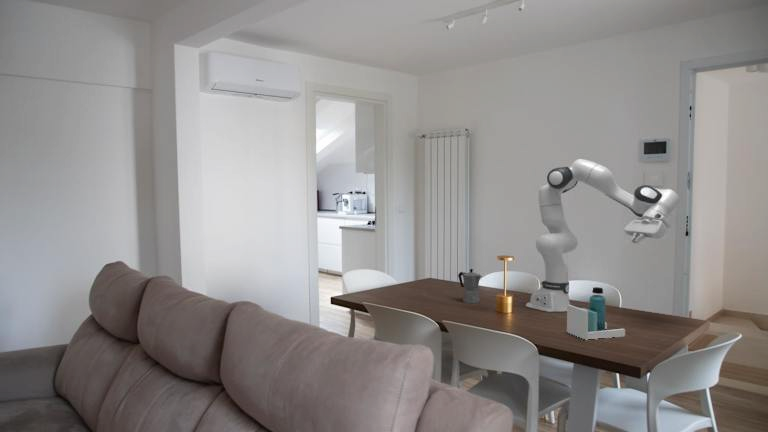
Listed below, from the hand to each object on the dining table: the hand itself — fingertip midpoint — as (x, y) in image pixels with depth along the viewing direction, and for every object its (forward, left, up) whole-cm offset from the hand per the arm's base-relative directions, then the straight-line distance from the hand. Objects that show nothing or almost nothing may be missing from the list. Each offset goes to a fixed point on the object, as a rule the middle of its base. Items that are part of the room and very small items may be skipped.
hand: (634, 242), depth 235 cm
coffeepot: (-83, -8, -38) cm, 91 cm away
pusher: (-8, -29, -37) cm, 48 cm away
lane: (-6, -25, -37) cm, 46 cm away
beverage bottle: (-5, -26, -38) cm, 46 cm away
